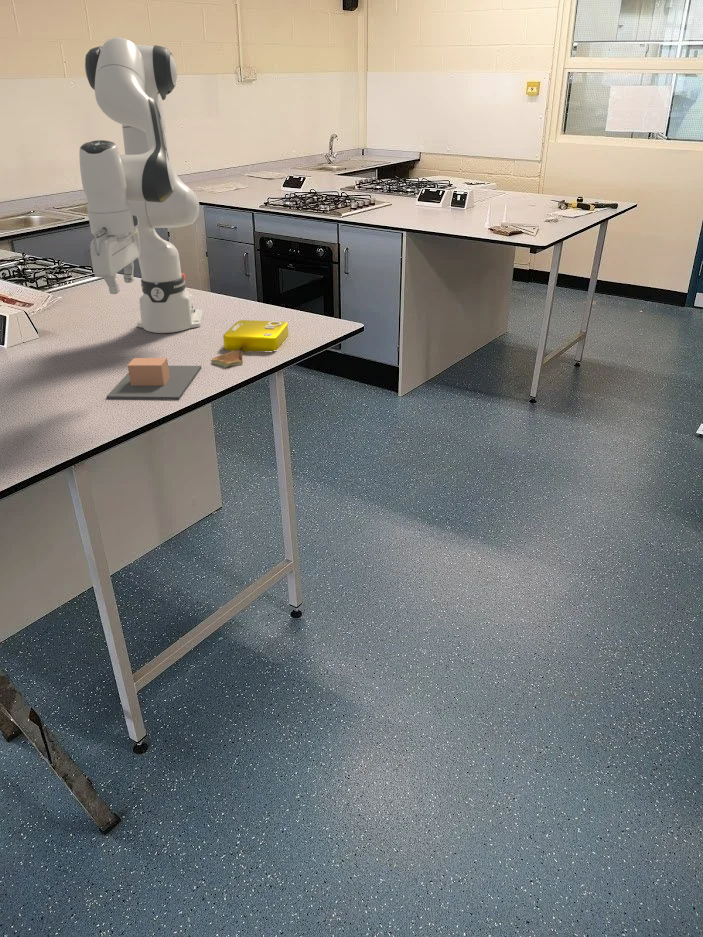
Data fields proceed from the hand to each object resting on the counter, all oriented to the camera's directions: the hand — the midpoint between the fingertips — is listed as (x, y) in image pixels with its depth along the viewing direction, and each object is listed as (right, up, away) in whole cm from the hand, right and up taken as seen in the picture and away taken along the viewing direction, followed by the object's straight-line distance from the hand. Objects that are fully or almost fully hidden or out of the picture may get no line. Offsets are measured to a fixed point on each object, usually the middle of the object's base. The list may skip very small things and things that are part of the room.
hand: (122, 287), depth 163 cm
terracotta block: (-1, -18, +9) cm, 20 cm away
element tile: (+26, -7, +36) cm, 45 cm away
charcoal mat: (+5, -20, +11) cm, 23 cm away
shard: (+19, -13, +25) cm, 34 cm away
